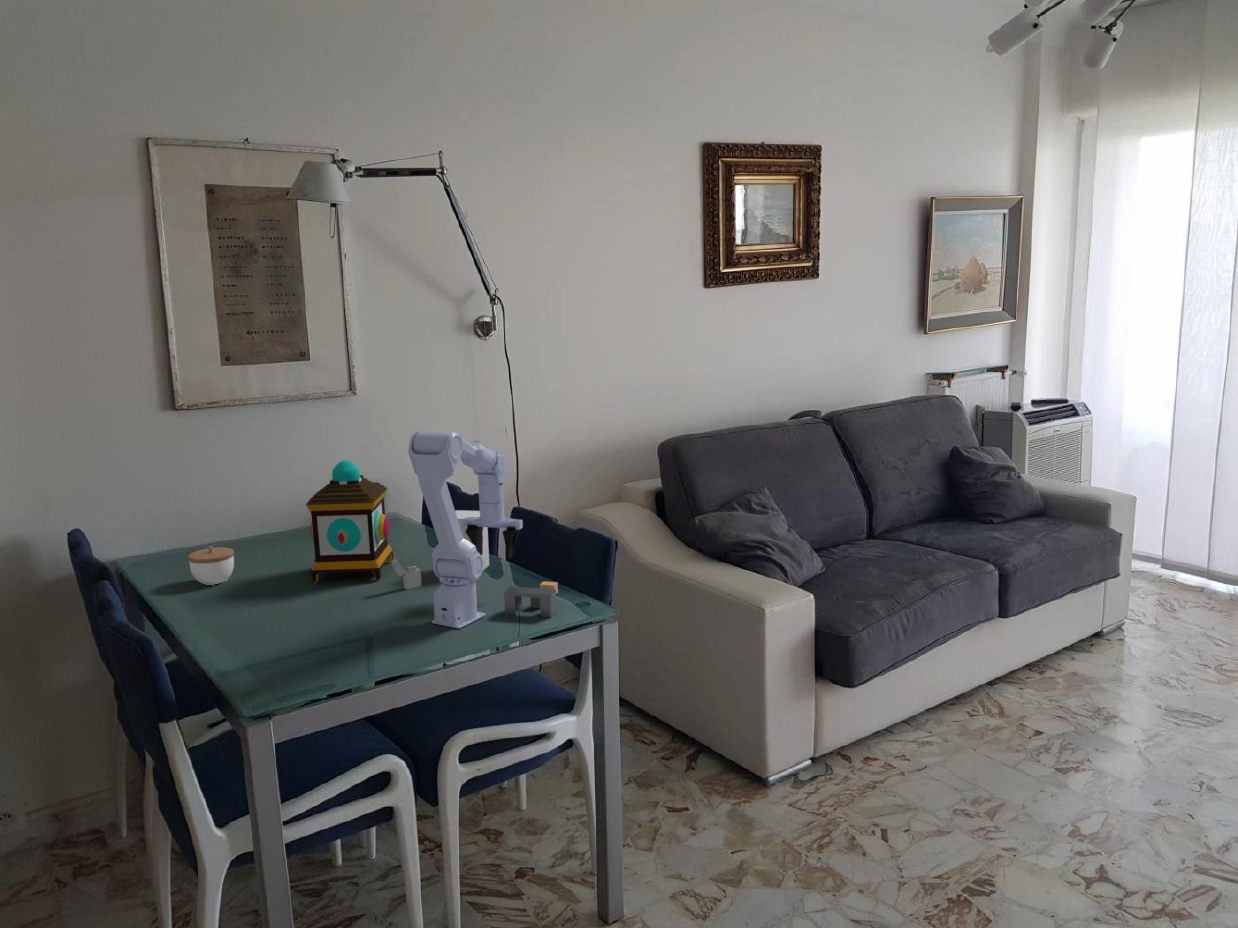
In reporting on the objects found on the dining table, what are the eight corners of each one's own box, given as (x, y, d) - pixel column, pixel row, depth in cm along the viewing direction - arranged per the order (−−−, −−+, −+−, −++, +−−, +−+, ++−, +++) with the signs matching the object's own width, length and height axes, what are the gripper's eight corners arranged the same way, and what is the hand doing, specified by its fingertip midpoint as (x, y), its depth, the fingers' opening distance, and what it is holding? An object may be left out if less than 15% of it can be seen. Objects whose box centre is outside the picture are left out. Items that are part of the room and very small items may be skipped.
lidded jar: (198, 591, 237) (194, 555, 235) (186, 581, 245) (182, 546, 243) (242, 582, 243) (238, 546, 241) (228, 573, 251) (225, 538, 250)
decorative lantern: (304, 585, 239) (293, 468, 234) (325, 562, 259) (316, 454, 253) (384, 582, 240) (376, 466, 234) (399, 560, 259) (392, 451, 254)
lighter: (418, 584, 238) (416, 553, 236) (421, 586, 237) (419, 555, 235) (392, 590, 234) (390, 559, 232) (395, 592, 232) (393, 560, 231)
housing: (551, 617, 212) (550, 595, 211) (505, 614, 215) (504, 591, 214) (557, 611, 216) (556, 589, 215) (511, 608, 219) (510, 586, 218)
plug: (543, 608, 218) (542, 596, 217) (528, 607, 219) (528, 595, 218) (558, 594, 228) (557, 582, 227) (543, 593, 229) (543, 581, 228)
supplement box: (478, 575, 244) (475, 518, 241) (445, 574, 246) (442, 518, 243) (490, 565, 253) (487, 510, 250) (458, 563, 254) (455, 509, 252)
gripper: (526, 498, 226) (528, 553, 229) (470, 496, 230) (473, 550, 233) (515, 505, 220) (517, 562, 222) (457, 502, 224) (460, 558, 226)
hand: (494, 556), depth 227 cm, fingers open, 7 cm apart
